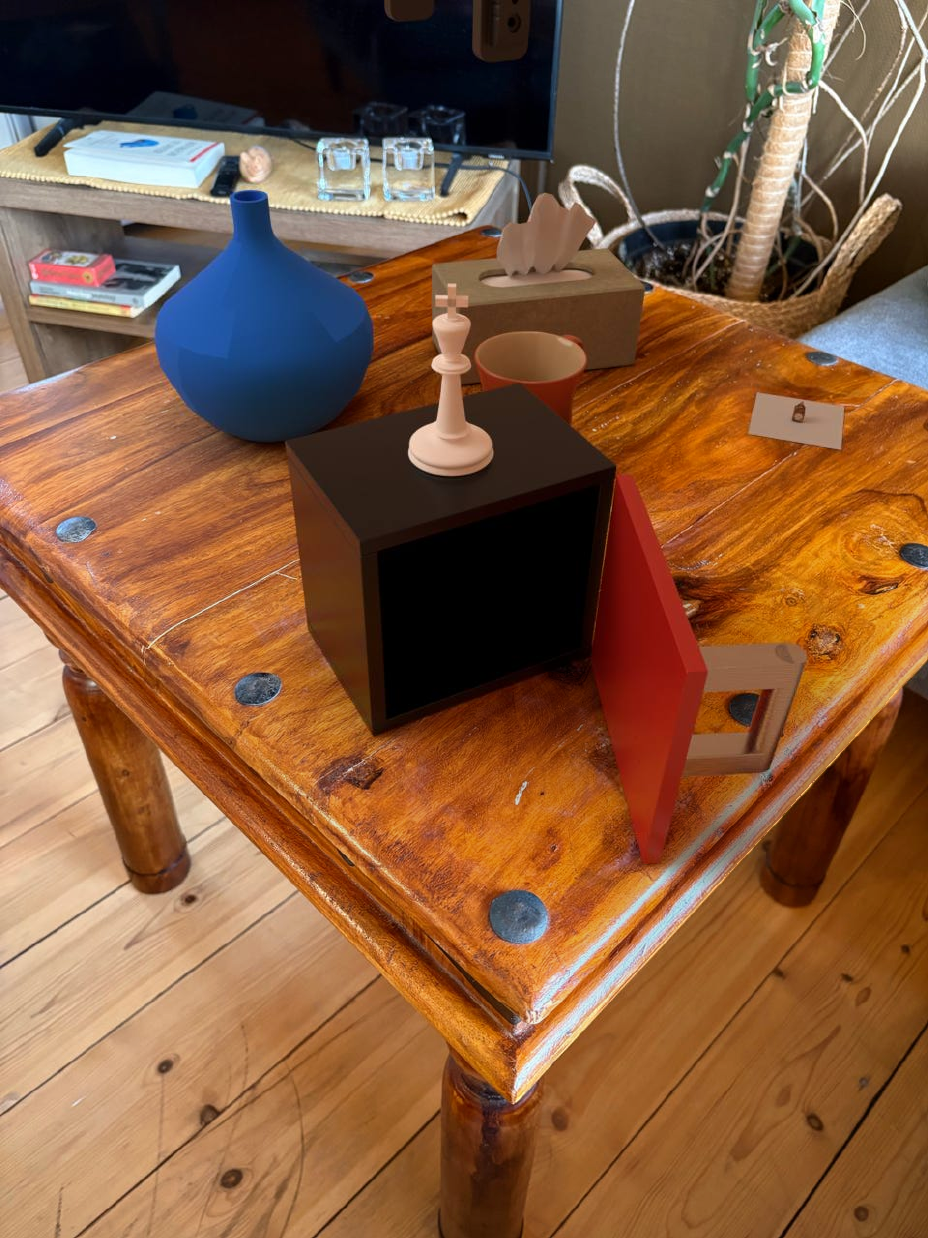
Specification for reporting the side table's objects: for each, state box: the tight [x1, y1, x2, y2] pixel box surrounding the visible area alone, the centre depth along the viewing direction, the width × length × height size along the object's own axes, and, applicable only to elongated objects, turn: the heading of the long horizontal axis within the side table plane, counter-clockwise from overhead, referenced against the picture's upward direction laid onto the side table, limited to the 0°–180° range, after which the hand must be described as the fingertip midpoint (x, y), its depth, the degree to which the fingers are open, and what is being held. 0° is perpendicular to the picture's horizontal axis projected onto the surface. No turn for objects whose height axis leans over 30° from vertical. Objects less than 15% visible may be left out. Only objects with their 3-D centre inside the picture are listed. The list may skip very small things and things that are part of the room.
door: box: [590, 473, 808, 865], centre depth 55 cm, size 7×16×15 cm, turn 5°
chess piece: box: [408, 284, 493, 476], centre depth 54 cm, size 5×5×10 cm
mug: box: [474, 331, 587, 427], centre depth 81 cm, size 12×9×10 cm
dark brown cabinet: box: [284, 383, 618, 737], centre depth 62 cm, size 11×16×15 cm
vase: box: [154, 189, 375, 443], centre depth 83 cm, size 18×18×19 cm
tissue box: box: [431, 192, 646, 386], centre depth 94 cm, size 19×10×16 cm, turn 105°
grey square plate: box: [747, 391, 845, 451], centre depth 90 cm, size 8×8×2 cm
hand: (451, 37), depth 43 cm, fingers open, 8 cm apart
